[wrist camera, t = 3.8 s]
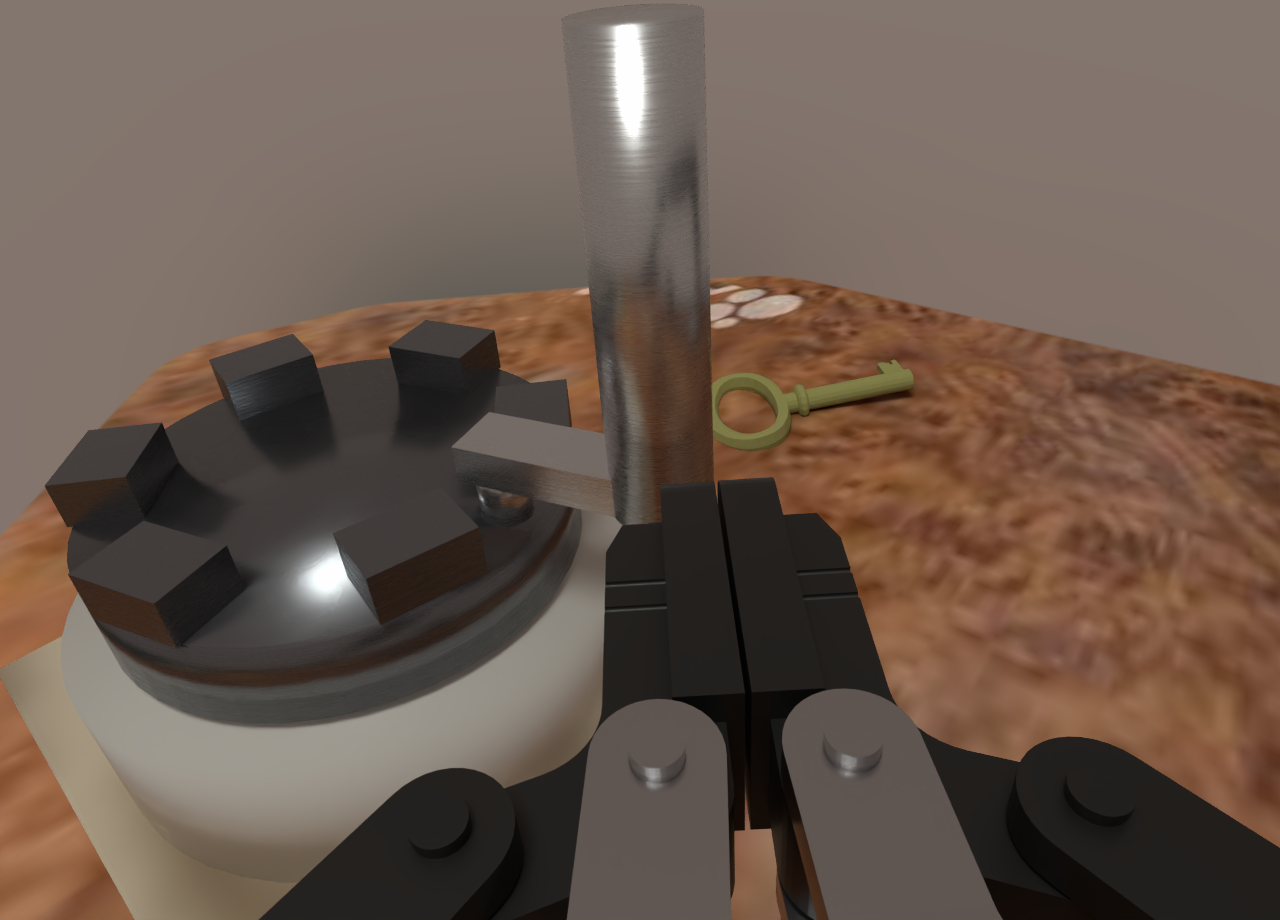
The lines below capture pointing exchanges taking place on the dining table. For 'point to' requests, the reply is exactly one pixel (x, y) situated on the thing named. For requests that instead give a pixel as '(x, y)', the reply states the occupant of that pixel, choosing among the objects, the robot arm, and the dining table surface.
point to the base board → (123, 811)
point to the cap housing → (347, 735)
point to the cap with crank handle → (417, 447)
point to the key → (799, 401)
